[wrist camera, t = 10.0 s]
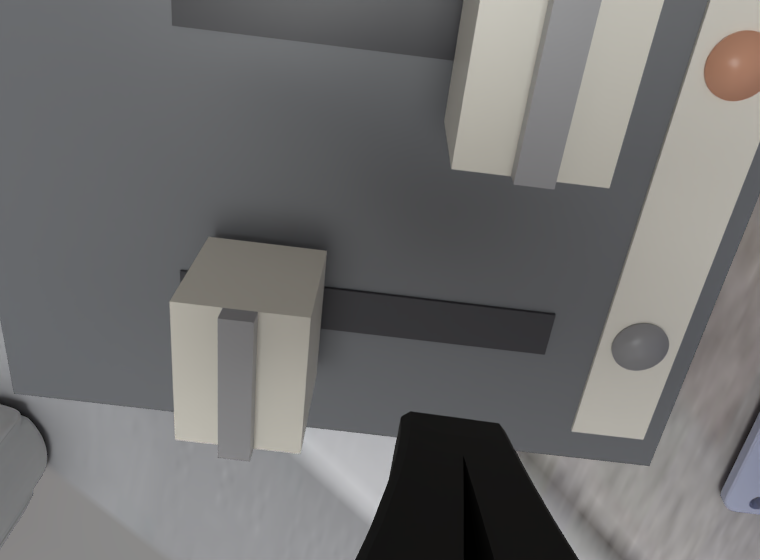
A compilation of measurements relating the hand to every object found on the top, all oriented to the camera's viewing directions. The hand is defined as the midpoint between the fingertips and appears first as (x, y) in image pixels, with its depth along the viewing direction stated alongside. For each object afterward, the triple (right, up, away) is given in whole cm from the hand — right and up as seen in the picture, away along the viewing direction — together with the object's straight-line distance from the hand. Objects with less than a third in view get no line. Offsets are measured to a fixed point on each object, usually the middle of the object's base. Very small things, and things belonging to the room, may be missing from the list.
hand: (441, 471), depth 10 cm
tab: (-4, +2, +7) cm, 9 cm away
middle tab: (+2, +7, +4) cm, 9 cm away
